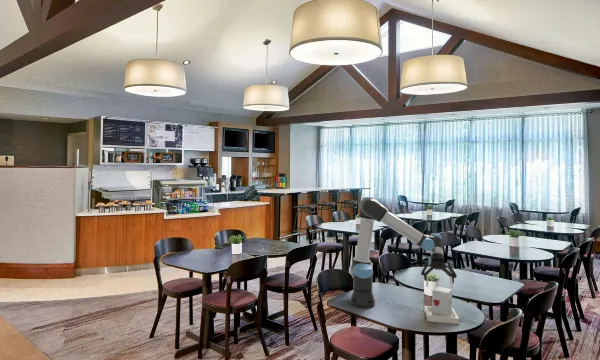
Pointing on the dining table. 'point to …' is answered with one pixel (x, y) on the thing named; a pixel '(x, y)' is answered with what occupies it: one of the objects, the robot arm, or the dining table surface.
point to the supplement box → (441, 301)
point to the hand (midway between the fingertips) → (439, 286)
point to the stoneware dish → (443, 319)
